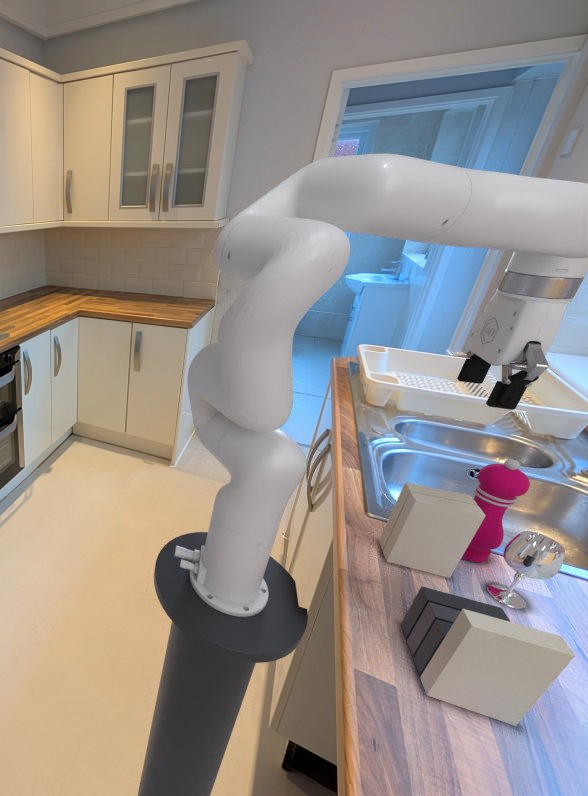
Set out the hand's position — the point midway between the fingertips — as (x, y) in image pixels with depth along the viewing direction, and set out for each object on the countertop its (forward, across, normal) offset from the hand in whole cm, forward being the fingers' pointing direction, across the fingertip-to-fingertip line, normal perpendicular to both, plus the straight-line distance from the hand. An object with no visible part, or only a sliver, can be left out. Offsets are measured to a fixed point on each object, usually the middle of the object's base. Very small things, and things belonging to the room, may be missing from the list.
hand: (483, 393), depth 67 cm
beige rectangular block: (+31, +5, -1) cm, 32 cm away
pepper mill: (+31, -1, +8) cm, 33 cm away
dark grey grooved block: (+31, +26, -3) cm, 41 cm away
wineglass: (+31, +9, +10) cm, 34 cm away
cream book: (+31, +31, -3) cm, 44 cm away
